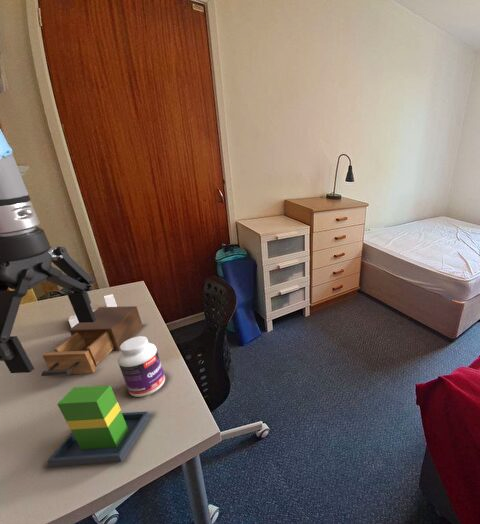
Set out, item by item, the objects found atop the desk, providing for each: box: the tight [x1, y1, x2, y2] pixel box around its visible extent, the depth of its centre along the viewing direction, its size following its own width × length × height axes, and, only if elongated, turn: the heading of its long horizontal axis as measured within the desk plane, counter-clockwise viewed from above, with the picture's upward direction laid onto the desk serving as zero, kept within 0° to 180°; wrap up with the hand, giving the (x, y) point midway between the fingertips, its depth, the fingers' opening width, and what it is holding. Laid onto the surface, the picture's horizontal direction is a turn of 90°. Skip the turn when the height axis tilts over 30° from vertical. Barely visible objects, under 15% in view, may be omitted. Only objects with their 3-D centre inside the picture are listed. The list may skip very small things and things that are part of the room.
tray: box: [47, 411, 150, 468], centre depth 61 cm, size 13×10×2 cm
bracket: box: [68, 293, 118, 329], centre depth 100 cm, size 13×7×8 cm, turn 134°
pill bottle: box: [117, 335, 166, 398], centre depth 72 cm, size 8×8×14 cm
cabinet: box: [68, 305, 143, 352], centre depth 90 cm, size 13×12×9 cm
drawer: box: [41, 331, 115, 377], centre depth 79 cm, size 16×10×7 cm, turn 6°
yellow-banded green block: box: [57, 385, 128, 450], centre depth 58 cm, size 7×4×14 cm, turn 96°
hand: (59, 343), depth 51 cm, fingers open, 13 cm apart
